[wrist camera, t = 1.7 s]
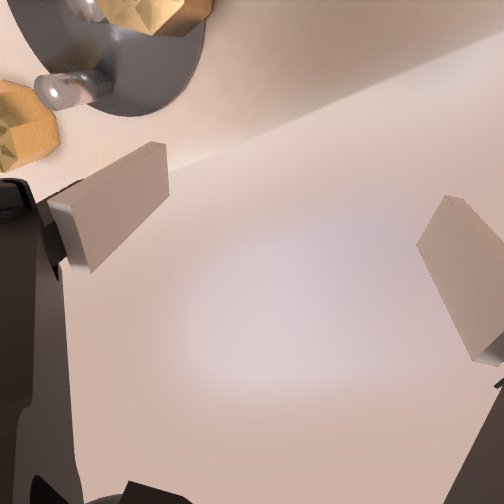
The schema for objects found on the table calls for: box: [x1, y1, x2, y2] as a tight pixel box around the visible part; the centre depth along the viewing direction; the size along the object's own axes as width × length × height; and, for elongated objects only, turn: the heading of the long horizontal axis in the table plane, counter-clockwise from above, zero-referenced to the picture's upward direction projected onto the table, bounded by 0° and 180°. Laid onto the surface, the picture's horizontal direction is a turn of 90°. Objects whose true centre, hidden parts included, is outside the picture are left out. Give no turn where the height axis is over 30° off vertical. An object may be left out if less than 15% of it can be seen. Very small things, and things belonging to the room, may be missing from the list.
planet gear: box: [0, 80, 60, 173], centre depth 36 cm, size 9×9×7 cm
